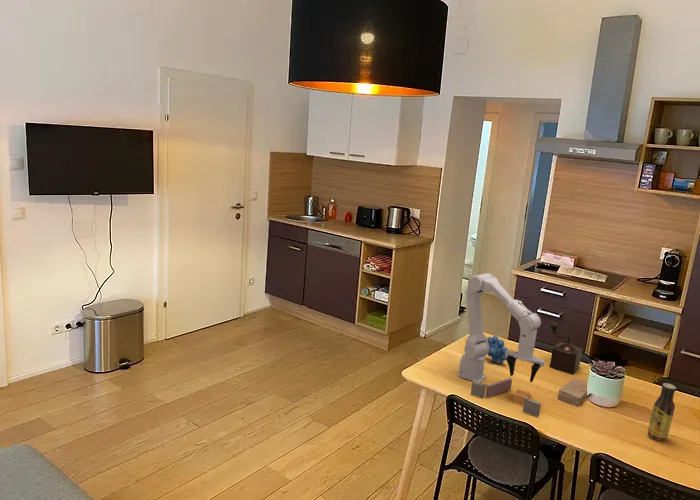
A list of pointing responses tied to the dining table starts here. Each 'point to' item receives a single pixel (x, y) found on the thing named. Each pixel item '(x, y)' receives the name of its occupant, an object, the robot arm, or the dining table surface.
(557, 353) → the manual coffee grinder
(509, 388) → the door
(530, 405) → the wall frame
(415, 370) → the dining table surface
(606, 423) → the dining table surface
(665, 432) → the sauce bottle
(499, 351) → the grapes
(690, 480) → the dining table surface
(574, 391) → the brick
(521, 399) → the orange brown block
